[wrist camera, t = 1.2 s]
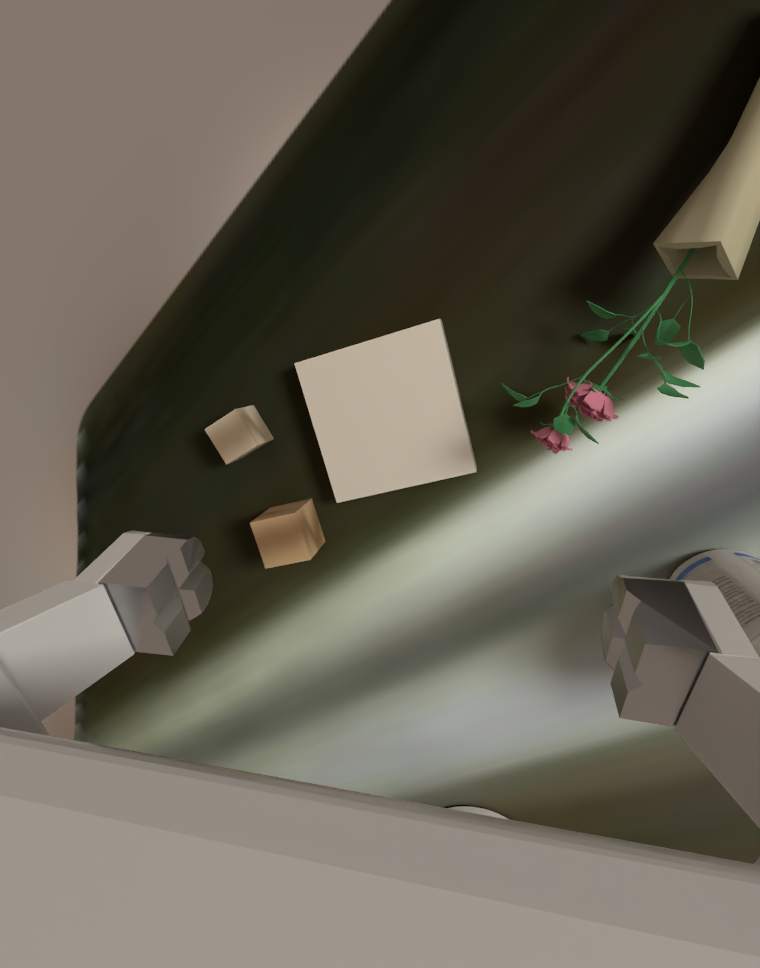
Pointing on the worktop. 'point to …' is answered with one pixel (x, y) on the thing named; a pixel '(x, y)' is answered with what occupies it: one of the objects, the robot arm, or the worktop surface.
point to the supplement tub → (730, 584)
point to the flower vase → (680, 270)
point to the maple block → (239, 433)
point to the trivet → (388, 413)
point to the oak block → (288, 533)
